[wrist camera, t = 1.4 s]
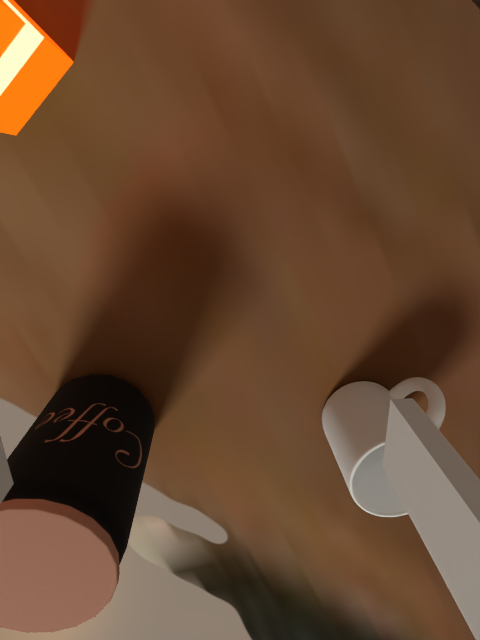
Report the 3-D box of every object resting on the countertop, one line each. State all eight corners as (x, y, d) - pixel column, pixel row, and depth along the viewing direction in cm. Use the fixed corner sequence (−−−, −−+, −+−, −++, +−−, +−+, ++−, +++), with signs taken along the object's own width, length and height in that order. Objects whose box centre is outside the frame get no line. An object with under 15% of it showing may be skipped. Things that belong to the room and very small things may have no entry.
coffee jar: (174, 397, 42) (147, 547, 25) (128, 472, 45) (77, 651, 28) (76, 351, 40) (-25, 482, 23) (35, 432, 43) (-84, 603, 26)
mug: (384, 337, 41) (436, 387, 32) (436, 382, 43) (500, 442, 34) (304, 418, 44) (329, 487, 34) (356, 456, 46) (394, 532, 36)
